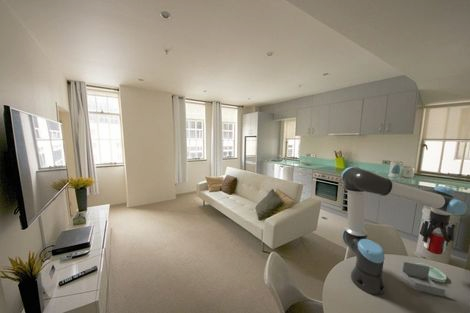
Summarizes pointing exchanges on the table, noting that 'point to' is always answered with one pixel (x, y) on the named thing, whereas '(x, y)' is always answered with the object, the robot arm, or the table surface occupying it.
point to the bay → (421, 272)
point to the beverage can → (436, 243)
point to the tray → (435, 274)
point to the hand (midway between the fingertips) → (433, 248)
